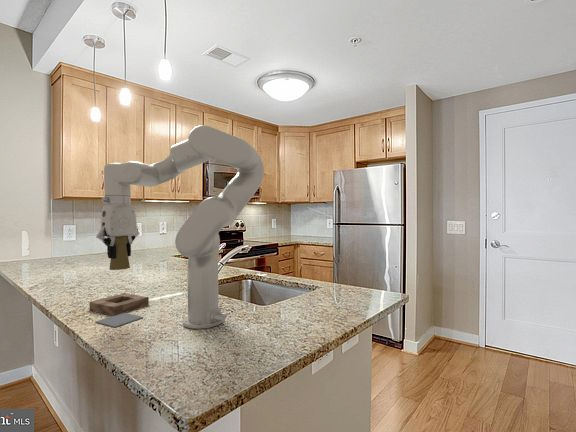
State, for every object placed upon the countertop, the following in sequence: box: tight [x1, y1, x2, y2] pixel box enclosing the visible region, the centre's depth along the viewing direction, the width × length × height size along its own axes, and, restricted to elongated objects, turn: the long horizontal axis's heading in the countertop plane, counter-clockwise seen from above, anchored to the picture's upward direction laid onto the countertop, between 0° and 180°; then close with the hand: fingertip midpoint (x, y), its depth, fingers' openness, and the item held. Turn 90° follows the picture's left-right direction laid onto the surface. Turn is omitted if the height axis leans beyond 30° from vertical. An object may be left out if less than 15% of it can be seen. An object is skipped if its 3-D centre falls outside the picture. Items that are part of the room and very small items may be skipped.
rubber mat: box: [95, 312, 144, 328], centre depth 105 cm, size 10×10×1 cm
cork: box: [109, 236, 131, 271], centre depth 105 cm, size 6×6×11 cm
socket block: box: [88, 292, 150, 317], centre depth 119 cm, size 14×14×3 cm
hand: (119, 256), depth 105 cm, fingers closed on cork, 4 cm apart
